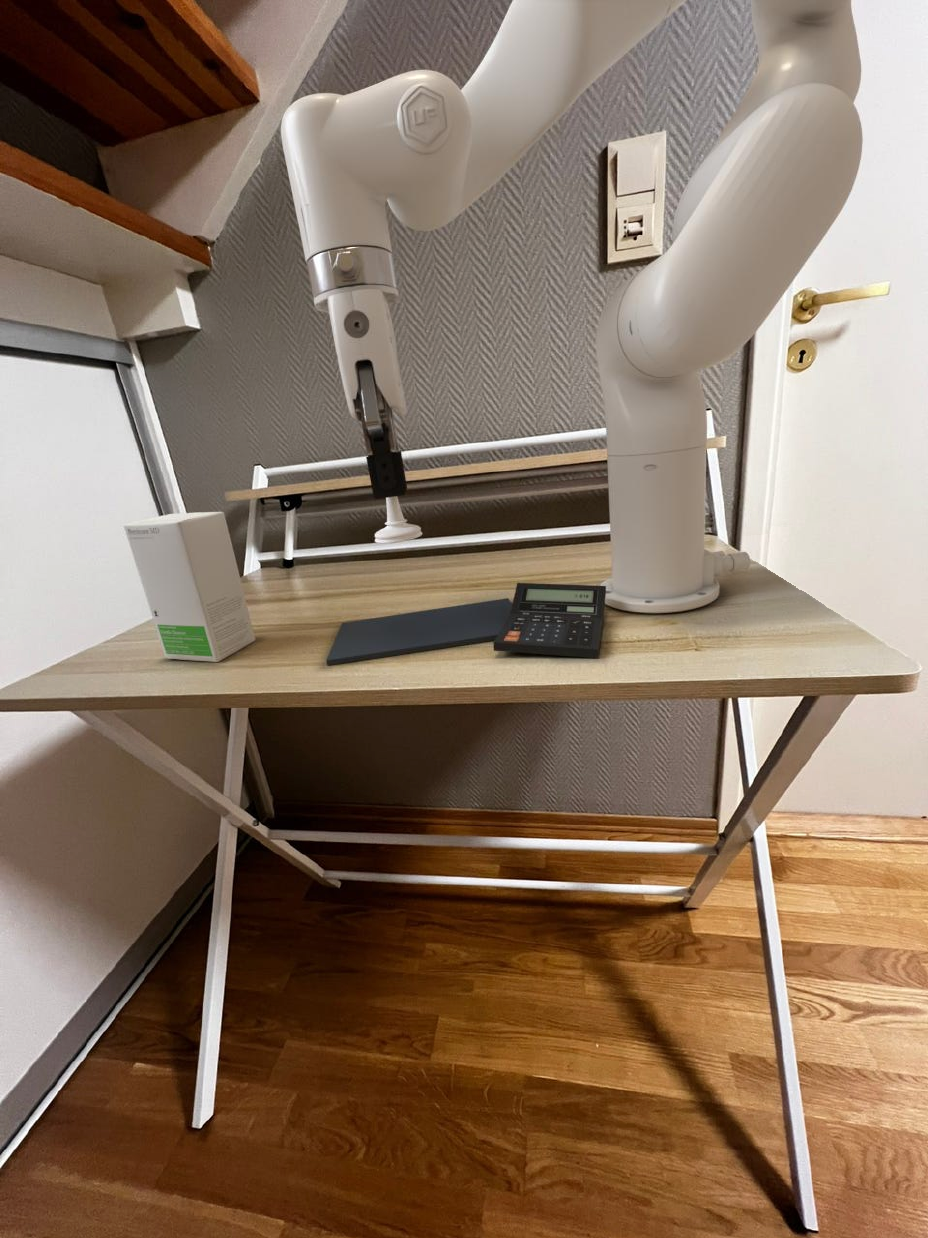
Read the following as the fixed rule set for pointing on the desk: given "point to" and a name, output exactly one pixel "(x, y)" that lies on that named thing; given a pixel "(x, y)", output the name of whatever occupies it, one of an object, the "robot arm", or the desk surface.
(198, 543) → the cosmetic box
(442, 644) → the desk mat
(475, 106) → the robot arm
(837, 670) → the desk surface
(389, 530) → the chess piece
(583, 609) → the calculator
